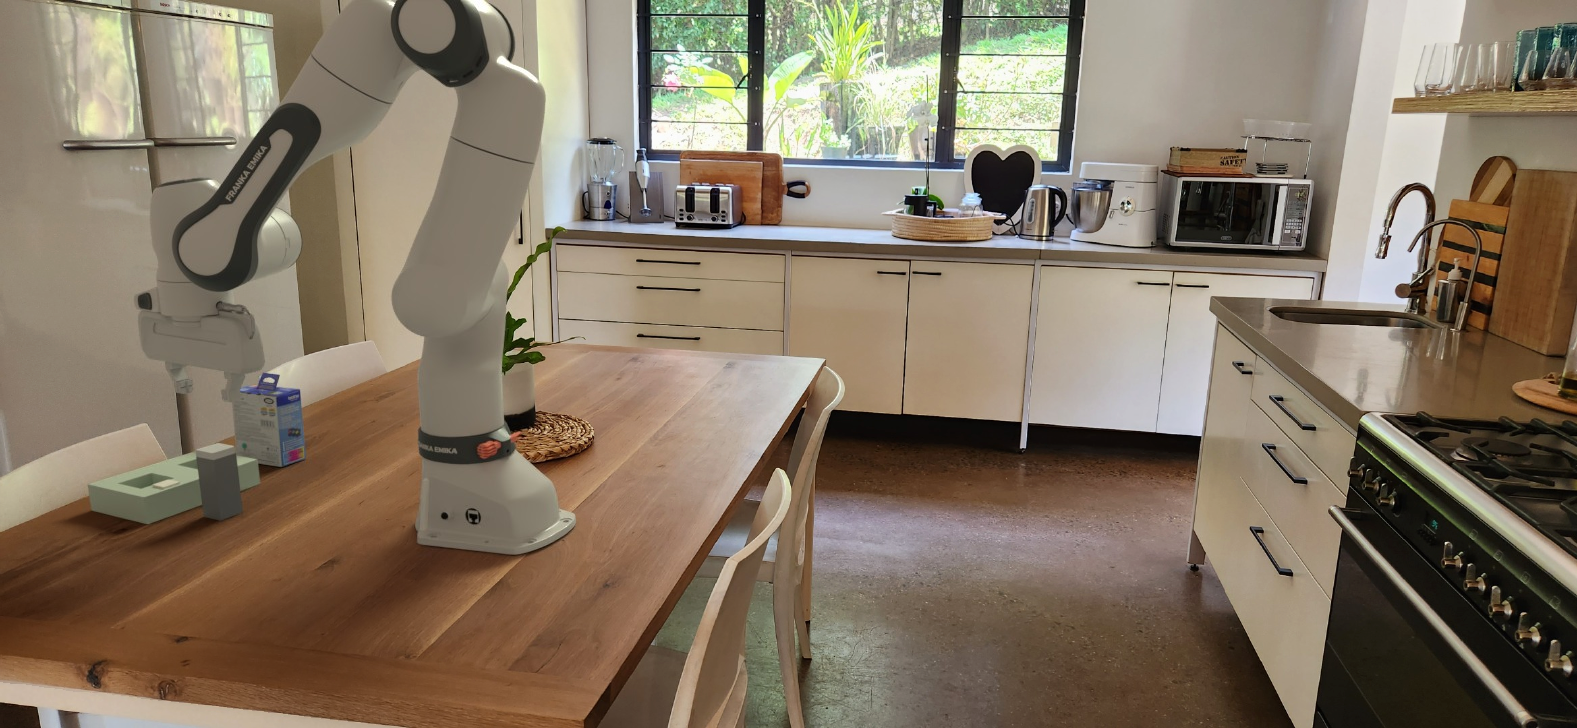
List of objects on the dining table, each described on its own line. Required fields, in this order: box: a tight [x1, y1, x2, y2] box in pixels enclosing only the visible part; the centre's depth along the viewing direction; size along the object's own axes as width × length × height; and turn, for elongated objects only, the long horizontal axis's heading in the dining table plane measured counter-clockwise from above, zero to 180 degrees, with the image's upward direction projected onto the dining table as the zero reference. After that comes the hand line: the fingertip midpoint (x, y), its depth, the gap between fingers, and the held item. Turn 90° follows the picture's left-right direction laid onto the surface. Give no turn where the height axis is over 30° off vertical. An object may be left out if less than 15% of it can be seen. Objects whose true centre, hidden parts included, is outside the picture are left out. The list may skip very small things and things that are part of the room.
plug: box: [194, 442, 244, 522], centre depth 141 cm, size 4×4×10 cm
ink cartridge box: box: [231, 372, 307, 468], centre depth 164 cm, size 10×6×14 cm, turn 72°
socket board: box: [87, 451, 261, 525], centre depth 148 cm, size 12×18×4 cm, turn 157°
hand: (207, 397), depth 138 cm, fingers open, 8 cm apart
